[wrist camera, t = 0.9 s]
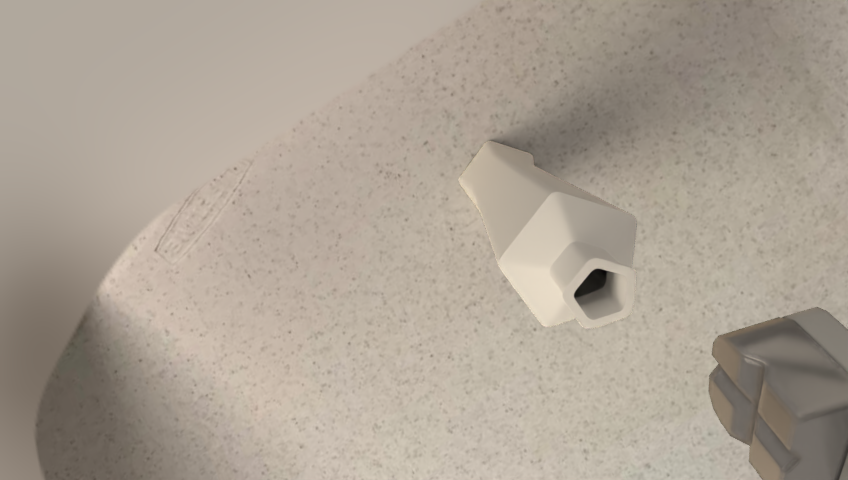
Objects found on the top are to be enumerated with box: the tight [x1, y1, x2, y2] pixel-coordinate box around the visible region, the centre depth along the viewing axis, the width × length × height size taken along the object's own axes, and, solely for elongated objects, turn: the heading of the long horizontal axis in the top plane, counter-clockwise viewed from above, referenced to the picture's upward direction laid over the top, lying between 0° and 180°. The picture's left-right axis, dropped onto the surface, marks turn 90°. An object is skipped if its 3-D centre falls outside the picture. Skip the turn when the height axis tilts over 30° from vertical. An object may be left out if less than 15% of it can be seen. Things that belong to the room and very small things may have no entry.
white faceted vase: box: [459, 141, 637, 329], centre depth 25 cm, size 5×4×15 cm
